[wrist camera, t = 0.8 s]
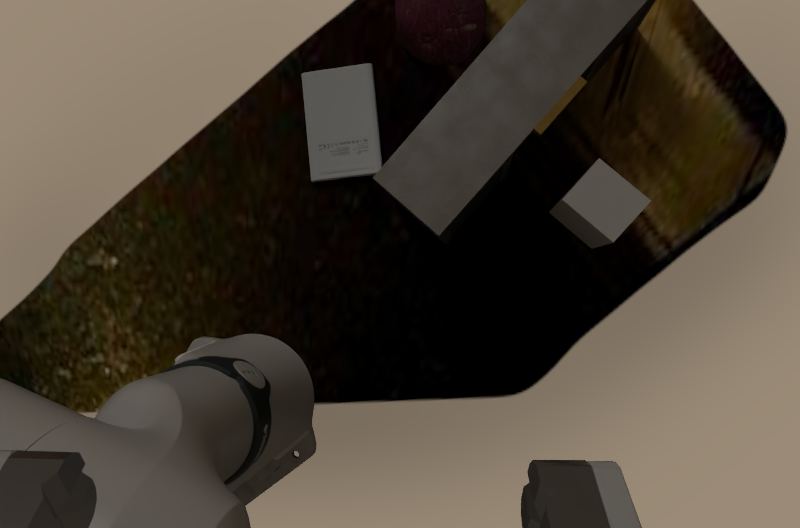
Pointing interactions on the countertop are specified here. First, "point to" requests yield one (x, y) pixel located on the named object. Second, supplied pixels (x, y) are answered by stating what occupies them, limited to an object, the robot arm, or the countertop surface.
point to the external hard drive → (342, 122)
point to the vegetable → (440, 28)
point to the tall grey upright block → (599, 205)
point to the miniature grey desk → (503, 105)
